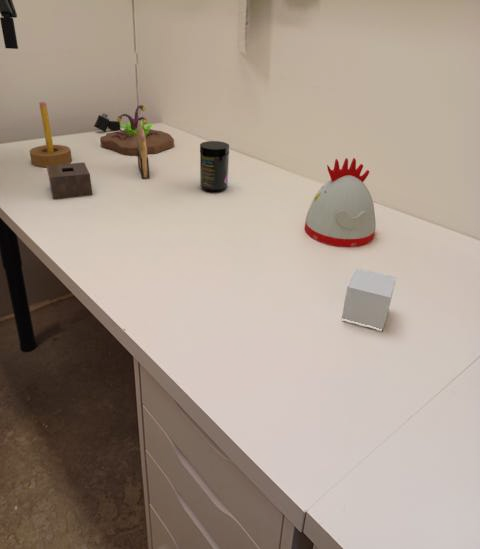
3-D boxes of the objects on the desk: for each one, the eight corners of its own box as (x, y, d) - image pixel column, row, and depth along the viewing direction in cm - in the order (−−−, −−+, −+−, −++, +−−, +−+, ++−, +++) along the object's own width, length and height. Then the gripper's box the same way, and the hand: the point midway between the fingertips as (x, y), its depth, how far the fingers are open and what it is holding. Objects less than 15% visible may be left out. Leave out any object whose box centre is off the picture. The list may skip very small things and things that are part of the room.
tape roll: (26, 166, 122) (24, 155, 120) (38, 155, 130) (36, 144, 129) (66, 167, 122) (64, 156, 121) (75, 155, 131) (74, 145, 129)
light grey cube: (388, 310, 73) (396, 277, 70) (382, 332, 68) (391, 297, 65) (349, 300, 75) (356, 267, 71) (340, 321, 70) (347, 286, 67)
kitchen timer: (298, 216, 101) (306, 147, 94) (361, 216, 103) (374, 148, 95) (313, 247, 90) (323, 170, 82) (383, 246, 91) (400, 171, 83)
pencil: (48, 162, 126) (38, 103, 118) (50, 160, 127) (40, 101, 119) (54, 162, 126) (44, 103, 118) (56, 160, 127) (46, 102, 119)
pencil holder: (53, 199, 104) (49, 177, 102) (50, 186, 111) (46, 165, 108) (92, 195, 107) (89, 173, 105) (87, 182, 114) (84, 162, 111)
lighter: (113, 136, 157) (119, 122, 157) (116, 137, 156) (122, 123, 155) (92, 125, 151) (99, 110, 151) (95, 127, 150) (102, 112, 149)
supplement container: (225, 194, 111) (226, 150, 105) (197, 192, 111) (197, 148, 106) (230, 184, 117) (231, 142, 111) (203, 182, 117) (203, 140, 112)
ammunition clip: (149, 178, 118) (146, 129, 112) (142, 178, 117) (138, 129, 111) (145, 164, 127) (142, 119, 121) (138, 165, 126) (135, 119, 120)
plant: (186, 145, 143) (185, 107, 137) (133, 159, 130) (130, 117, 125) (143, 132, 154) (141, 96, 148) (91, 143, 141) (87, 104, 136)
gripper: (-26, -67, 87) (-2, 59, 98) (19, -56, 108) (35, 46, 119) (-69, -71, 86) (-40, 57, 97) (-15, -58, 108) (4, 45, 118)
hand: (1, 51), depth 108 cm, fingers open, 13 cm apart
